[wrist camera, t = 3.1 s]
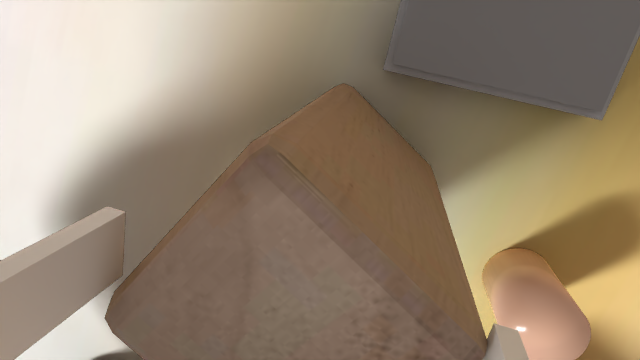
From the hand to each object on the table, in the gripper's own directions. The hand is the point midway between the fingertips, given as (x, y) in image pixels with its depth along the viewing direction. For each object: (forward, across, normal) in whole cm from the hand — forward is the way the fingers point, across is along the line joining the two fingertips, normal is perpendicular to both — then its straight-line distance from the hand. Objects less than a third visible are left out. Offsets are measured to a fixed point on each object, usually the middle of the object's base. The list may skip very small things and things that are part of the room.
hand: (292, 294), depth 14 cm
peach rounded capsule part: (+19, +14, -6) cm, 24 cm away
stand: (+19, +7, +14) cm, 25 cm away
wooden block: (+19, -1, -1) cm, 19 cm away
